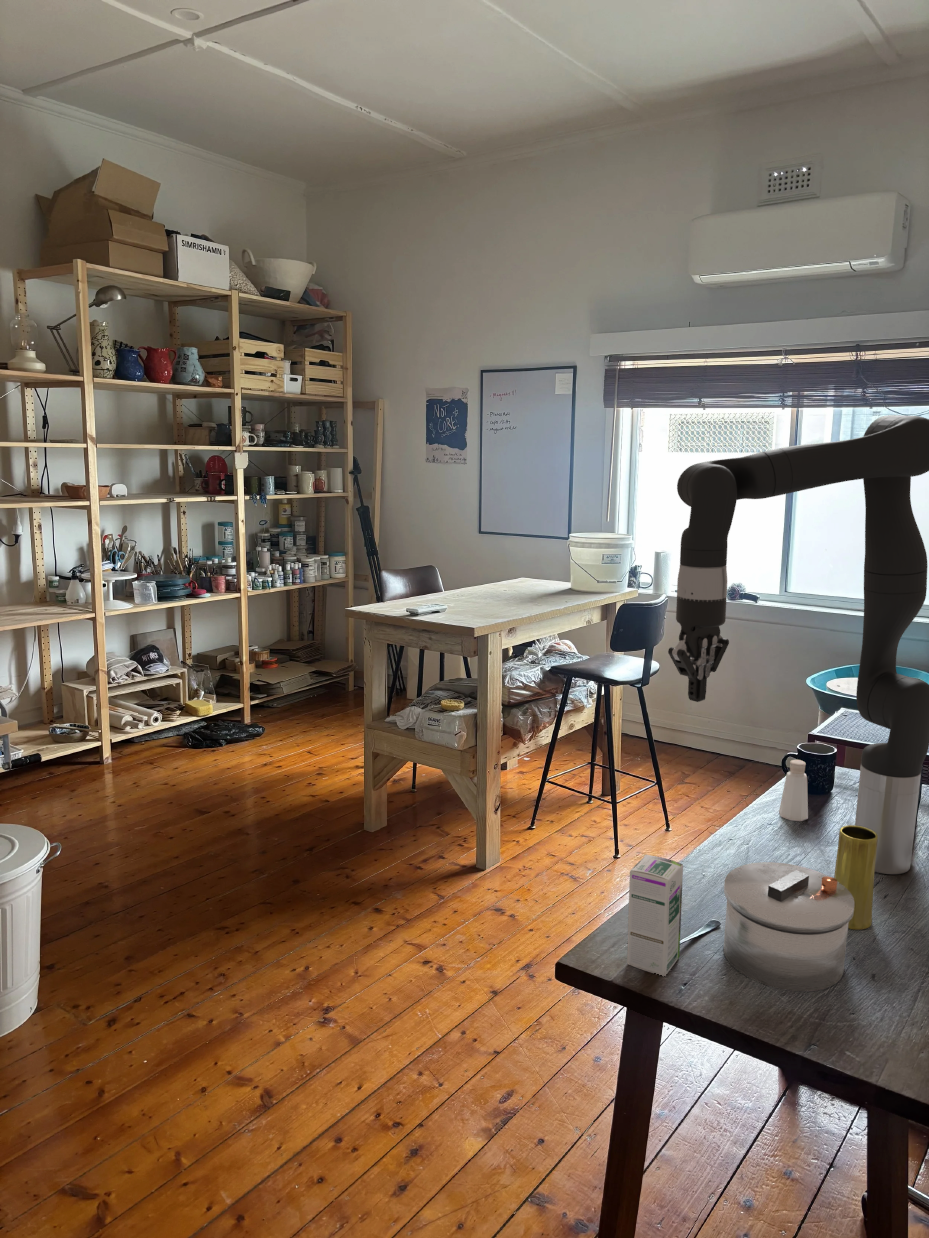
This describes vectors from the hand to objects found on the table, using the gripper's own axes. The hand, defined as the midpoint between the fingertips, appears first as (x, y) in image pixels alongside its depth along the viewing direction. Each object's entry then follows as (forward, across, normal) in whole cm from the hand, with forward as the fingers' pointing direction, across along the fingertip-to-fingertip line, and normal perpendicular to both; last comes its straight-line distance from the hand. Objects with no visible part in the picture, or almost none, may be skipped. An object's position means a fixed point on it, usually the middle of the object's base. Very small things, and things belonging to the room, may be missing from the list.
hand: (696, 699), depth 145 cm
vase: (+31, +8, -24) cm, 40 cm away
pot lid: (+22, -9, -23) cm, 33 cm away
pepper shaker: (+31, +35, +2) cm, 47 cm away
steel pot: (+30, -9, -23) cm, 39 cm away
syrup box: (+30, -24, -12) cm, 41 cm away
